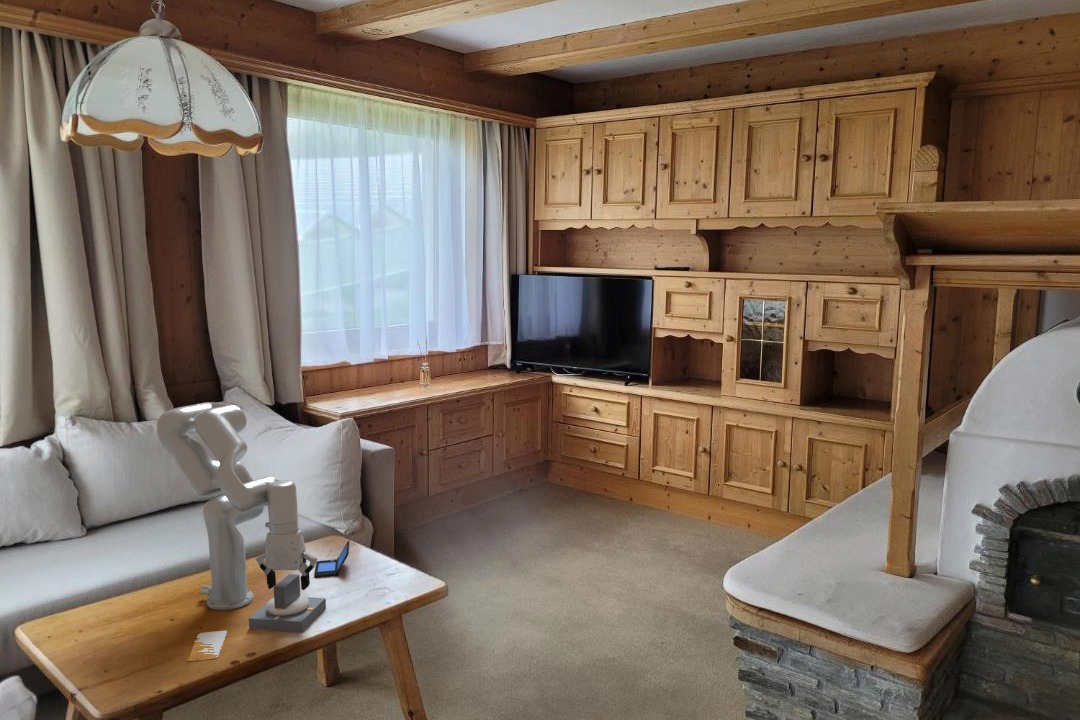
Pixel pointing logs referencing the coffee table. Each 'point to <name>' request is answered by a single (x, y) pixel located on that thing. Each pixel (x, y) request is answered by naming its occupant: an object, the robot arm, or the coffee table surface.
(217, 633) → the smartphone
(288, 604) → the dial
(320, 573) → the handheld game console
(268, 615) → the control plate
